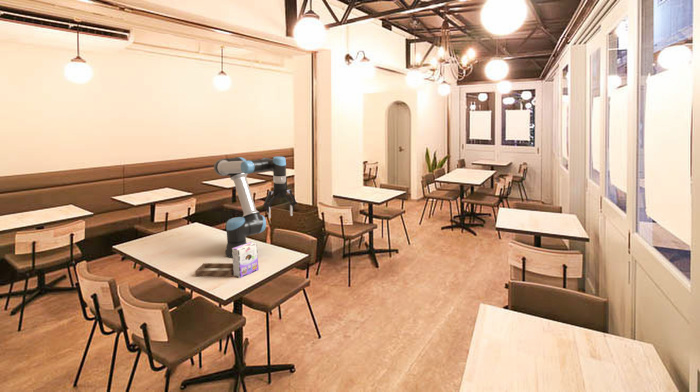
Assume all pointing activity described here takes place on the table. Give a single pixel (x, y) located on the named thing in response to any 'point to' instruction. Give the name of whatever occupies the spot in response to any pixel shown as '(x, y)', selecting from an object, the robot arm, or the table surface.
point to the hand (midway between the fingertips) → (280, 216)
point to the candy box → (245, 259)
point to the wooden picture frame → (215, 270)
